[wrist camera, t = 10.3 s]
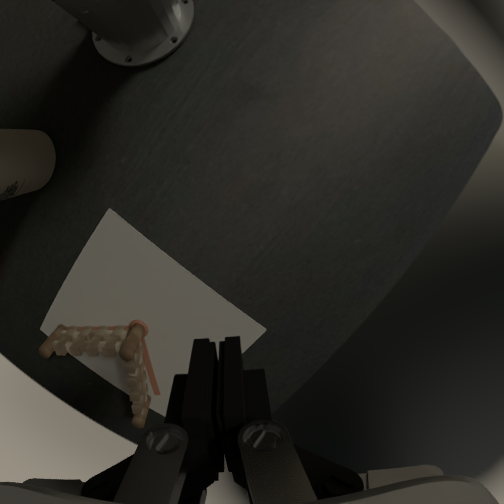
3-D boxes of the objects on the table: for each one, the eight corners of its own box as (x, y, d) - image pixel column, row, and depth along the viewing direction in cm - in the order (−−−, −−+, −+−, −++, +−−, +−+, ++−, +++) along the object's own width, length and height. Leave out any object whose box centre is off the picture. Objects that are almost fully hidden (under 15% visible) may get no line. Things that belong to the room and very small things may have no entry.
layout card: (40, 328, 40) (39, 329, 40) (109, 207, 36) (109, 208, 36) (170, 418, 46) (170, 419, 46) (266, 329, 42) (266, 330, 42)
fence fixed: (60, 334, 41) (41, 358, 34) (56, 323, 40) (36, 346, 34) (146, 333, 41) (134, 361, 35) (143, 321, 41) (131, 349, 34)
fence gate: (132, 337, 40) (120, 362, 35) (144, 338, 41) (134, 364, 35) (140, 400, 44) (132, 427, 38) (151, 402, 44) (144, 429, 39)
